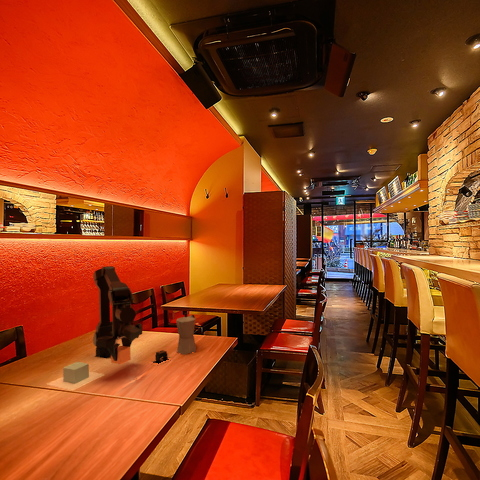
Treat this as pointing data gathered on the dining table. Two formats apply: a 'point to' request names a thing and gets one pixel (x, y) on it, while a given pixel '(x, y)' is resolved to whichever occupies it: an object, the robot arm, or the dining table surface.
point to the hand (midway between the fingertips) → (120, 358)
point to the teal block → (75, 372)
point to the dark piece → (160, 356)
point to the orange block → (122, 355)
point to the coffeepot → (186, 334)
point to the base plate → (71, 386)
